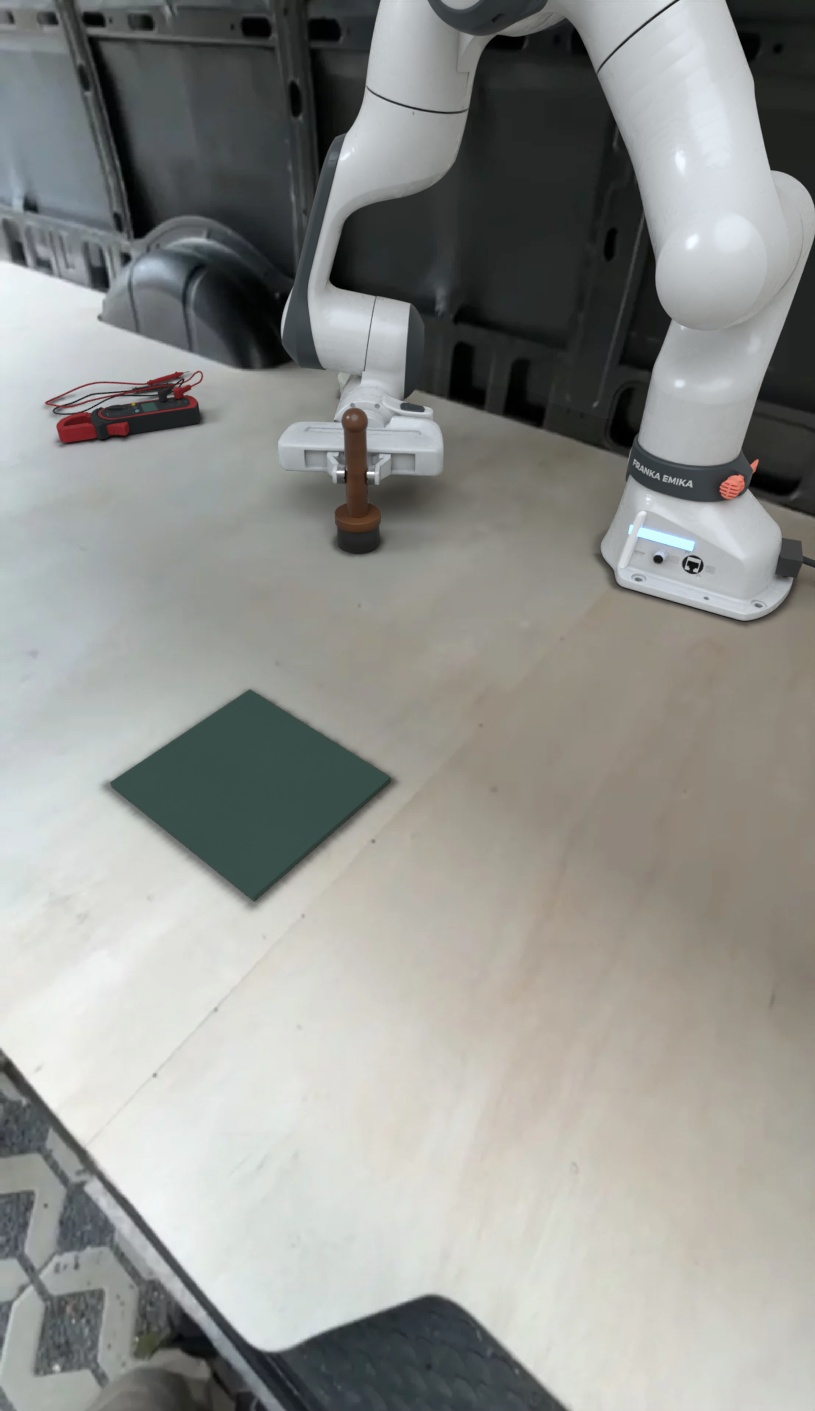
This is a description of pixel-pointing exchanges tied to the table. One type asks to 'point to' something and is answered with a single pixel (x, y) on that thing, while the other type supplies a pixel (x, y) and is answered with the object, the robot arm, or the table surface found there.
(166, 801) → the mat
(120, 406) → the digital clamp meter
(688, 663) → the table surface
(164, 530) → the table surface
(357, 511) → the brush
